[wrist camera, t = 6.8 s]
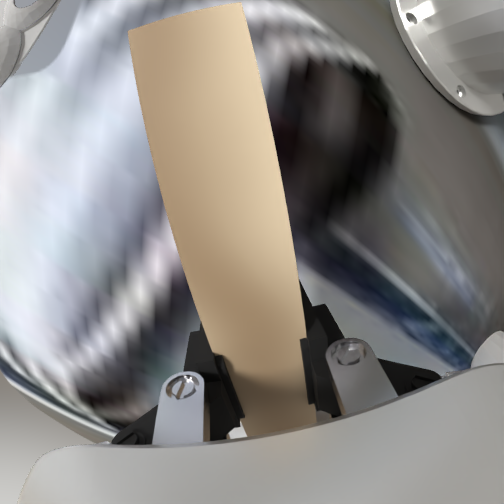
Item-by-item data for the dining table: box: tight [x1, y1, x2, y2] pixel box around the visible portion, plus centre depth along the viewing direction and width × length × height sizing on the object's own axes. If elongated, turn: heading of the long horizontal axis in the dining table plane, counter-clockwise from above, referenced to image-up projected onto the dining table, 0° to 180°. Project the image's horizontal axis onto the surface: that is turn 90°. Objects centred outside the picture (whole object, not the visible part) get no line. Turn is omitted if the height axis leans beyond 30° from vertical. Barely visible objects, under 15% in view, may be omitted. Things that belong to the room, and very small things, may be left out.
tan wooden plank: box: [128, 2, 330, 439], centre depth 10 cm, size 7×19×4 cm, turn 12°
